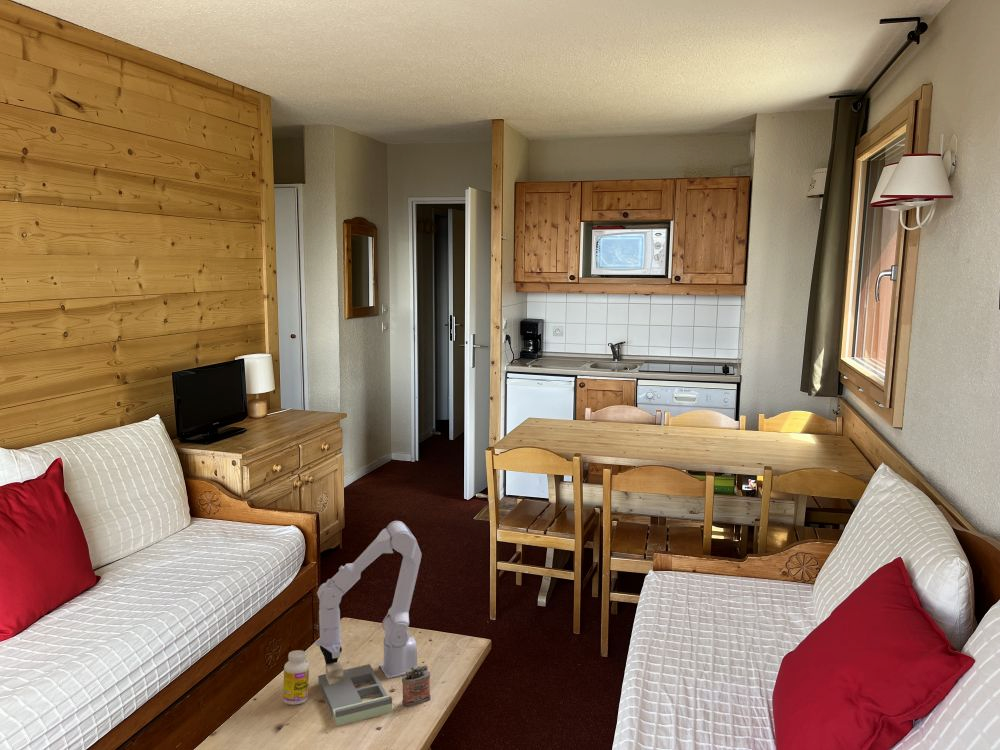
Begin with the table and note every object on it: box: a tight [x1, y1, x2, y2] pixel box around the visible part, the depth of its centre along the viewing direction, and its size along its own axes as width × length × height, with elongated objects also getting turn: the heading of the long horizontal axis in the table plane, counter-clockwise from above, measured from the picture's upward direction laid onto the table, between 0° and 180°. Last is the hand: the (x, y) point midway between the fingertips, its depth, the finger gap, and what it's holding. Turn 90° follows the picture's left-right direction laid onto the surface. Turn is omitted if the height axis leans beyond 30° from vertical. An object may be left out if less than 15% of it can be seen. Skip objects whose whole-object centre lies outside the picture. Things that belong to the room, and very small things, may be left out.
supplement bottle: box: [282, 649, 310, 706], centre depth 207 cm, size 7×7×13 cm
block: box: [325, 661, 344, 685], centre depth 213 cm, size 4×4×4 cm
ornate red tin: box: [401, 664, 432, 708], centre depth 206 cm, size 8×3×10 cm, turn 117°
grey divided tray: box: [317, 663, 393, 727], centre depth 209 cm, size 15×22×4 cm
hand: (331, 669), depth 216 cm, fingers closed
